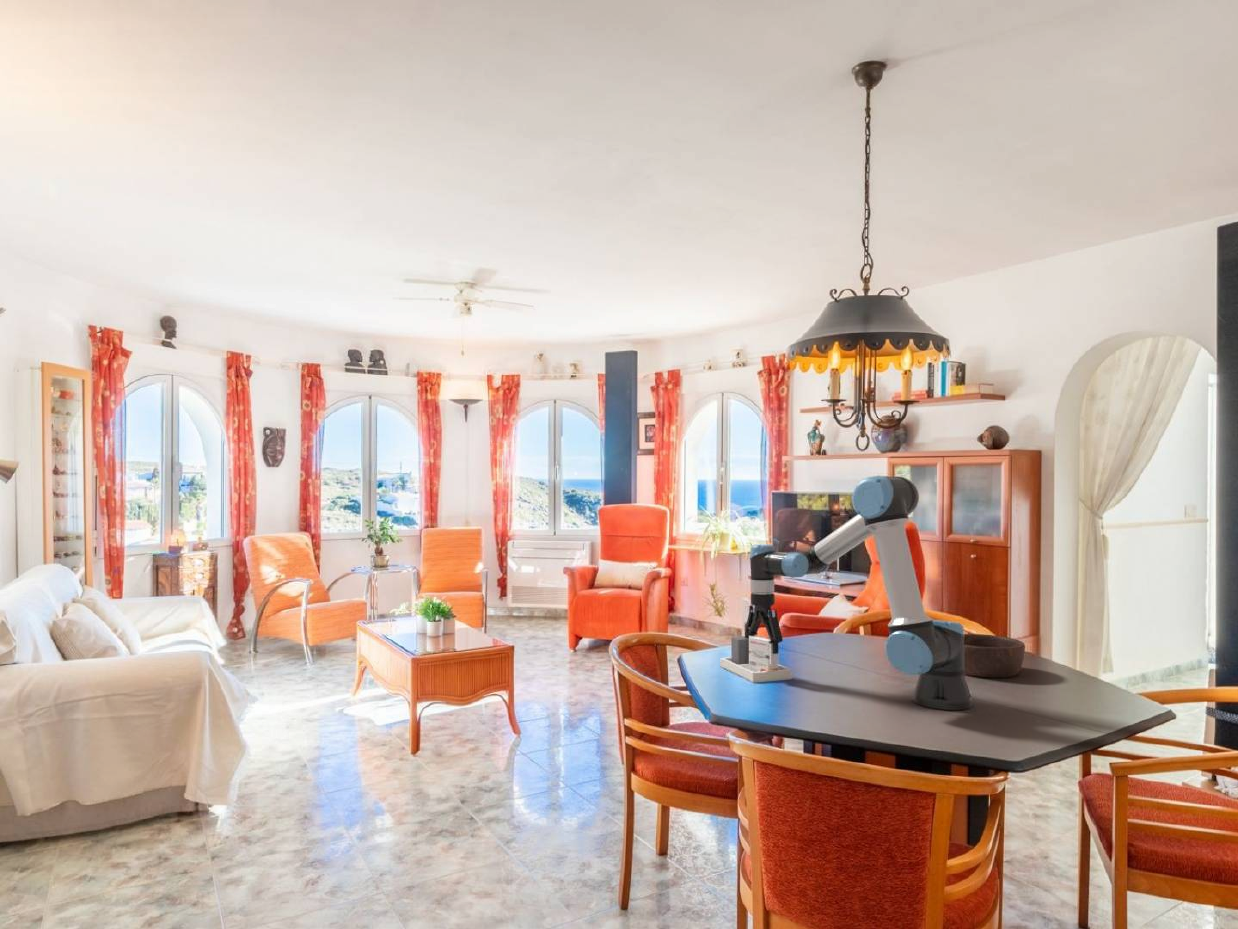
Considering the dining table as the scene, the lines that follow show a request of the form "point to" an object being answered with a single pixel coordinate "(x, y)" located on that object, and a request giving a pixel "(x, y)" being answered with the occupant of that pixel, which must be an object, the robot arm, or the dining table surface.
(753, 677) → the tray
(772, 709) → the dining table surface
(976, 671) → the wooden bowl
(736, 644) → the grey block with handle
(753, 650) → the ink box
